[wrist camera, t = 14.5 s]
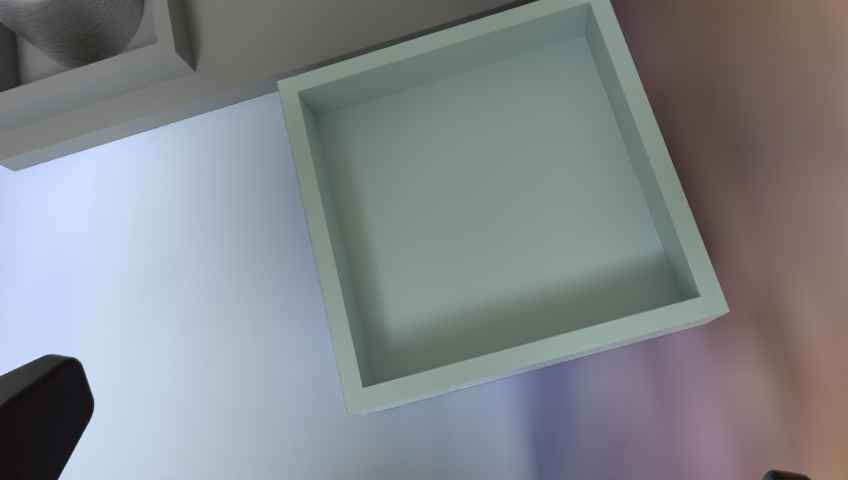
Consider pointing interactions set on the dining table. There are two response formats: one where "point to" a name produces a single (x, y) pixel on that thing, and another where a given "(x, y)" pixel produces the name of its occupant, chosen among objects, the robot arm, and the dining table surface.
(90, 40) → the billet
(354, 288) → the tote
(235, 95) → the tray
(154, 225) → the dining table surface
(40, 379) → the robot arm
